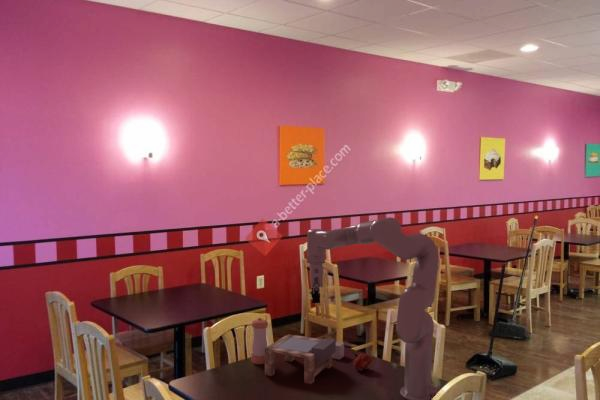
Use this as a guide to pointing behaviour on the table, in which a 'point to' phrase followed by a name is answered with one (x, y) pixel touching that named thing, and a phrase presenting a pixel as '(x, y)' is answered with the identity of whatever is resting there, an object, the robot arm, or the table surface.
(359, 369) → the pomegranate
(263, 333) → the pepper shaker
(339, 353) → the granite stone
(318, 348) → the trapdoor
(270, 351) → the trapdoor frame
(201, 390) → the table surface
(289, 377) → the table surface
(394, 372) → the table surface
